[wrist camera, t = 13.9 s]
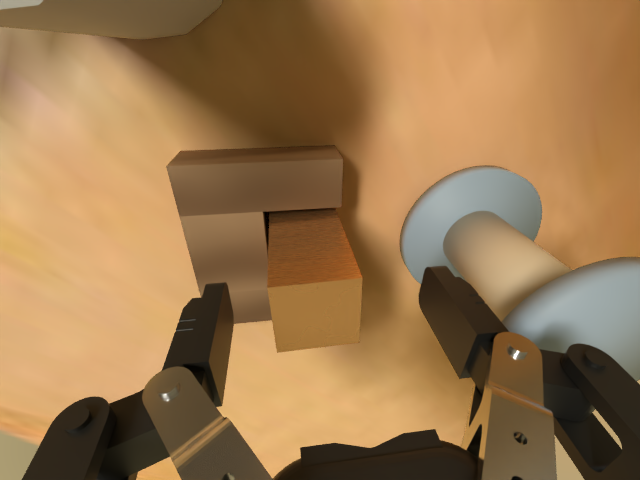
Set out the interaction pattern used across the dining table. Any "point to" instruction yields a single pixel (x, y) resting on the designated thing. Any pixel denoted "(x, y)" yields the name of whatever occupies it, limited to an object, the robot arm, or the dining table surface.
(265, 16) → the dining table surface
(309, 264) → the block
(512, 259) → the bobbin
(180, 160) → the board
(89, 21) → the cup
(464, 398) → the dining table surface
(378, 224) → the dining table surface
